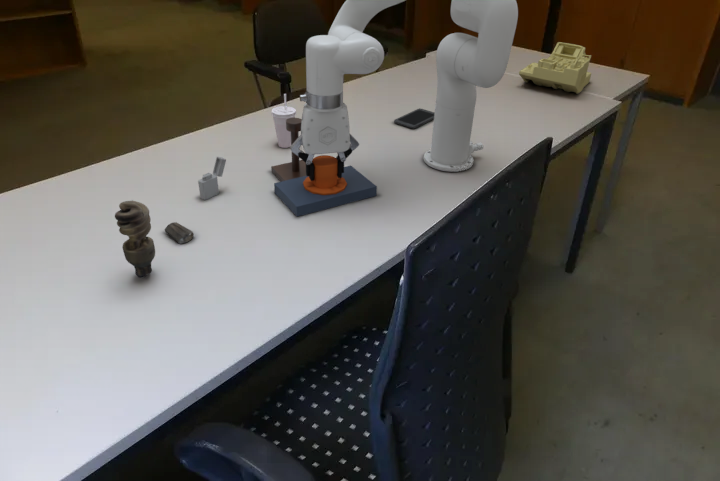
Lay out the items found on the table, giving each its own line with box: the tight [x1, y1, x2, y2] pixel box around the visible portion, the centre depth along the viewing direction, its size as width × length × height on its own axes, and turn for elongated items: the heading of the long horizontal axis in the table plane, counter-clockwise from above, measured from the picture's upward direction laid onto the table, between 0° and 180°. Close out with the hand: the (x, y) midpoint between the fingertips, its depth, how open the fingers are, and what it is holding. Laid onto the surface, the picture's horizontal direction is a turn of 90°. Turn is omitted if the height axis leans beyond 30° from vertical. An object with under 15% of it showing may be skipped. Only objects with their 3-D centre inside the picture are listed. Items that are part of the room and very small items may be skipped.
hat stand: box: [270, 117, 307, 182], centre depth 136 cm, size 9×9×14 cm
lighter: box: [197, 156, 227, 201], centre depth 129 cm, size 7×2×8 cm, turn 142°
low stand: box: [273, 165, 378, 217], centre depth 132 cm, size 20×12×2 cm, turn 120°
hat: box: [303, 154, 347, 195], centre depth 129 cm, size 10×10×6 cm
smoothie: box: [271, 93, 297, 149], centre depth 151 cm, size 6×6×14 cm
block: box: [164, 221, 194, 244], centre depth 116 cm, size 4×6×2 cm, turn 52°
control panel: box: [518, 41, 593, 95], centre depth 199 cm, size 24×16×20 cm
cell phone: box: [393, 107, 435, 130], centre depth 172 cm, size 7×14×1 cm, turn 141°
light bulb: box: [114, 200, 156, 279], centre depth 101 cm, size 6×6×15 cm
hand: (324, 176), depth 130 cm, fingers closed on hat, 5 cm apart
